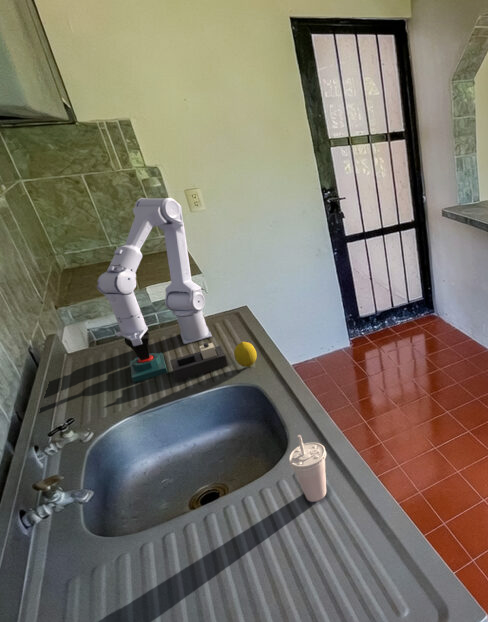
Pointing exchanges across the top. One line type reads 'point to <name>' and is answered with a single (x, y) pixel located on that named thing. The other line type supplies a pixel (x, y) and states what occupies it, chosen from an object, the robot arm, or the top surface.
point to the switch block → (148, 368)
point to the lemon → (245, 354)
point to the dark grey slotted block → (197, 364)
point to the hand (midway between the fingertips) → (145, 358)
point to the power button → (145, 359)
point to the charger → (207, 350)
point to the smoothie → (310, 469)
